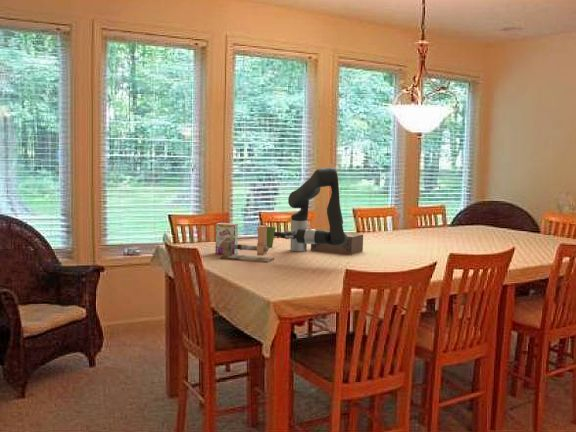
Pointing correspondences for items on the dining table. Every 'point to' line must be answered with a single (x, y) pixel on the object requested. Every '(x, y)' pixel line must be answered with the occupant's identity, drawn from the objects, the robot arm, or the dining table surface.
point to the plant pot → (270, 236)
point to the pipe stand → (228, 255)
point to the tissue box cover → (350, 247)
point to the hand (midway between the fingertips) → (274, 234)
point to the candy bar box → (226, 236)
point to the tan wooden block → (262, 240)
